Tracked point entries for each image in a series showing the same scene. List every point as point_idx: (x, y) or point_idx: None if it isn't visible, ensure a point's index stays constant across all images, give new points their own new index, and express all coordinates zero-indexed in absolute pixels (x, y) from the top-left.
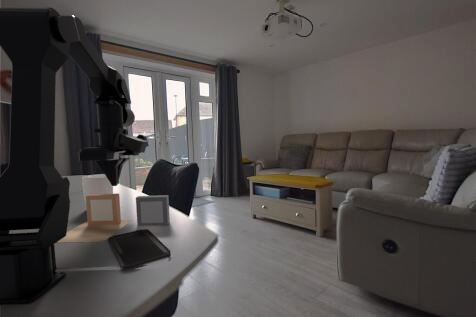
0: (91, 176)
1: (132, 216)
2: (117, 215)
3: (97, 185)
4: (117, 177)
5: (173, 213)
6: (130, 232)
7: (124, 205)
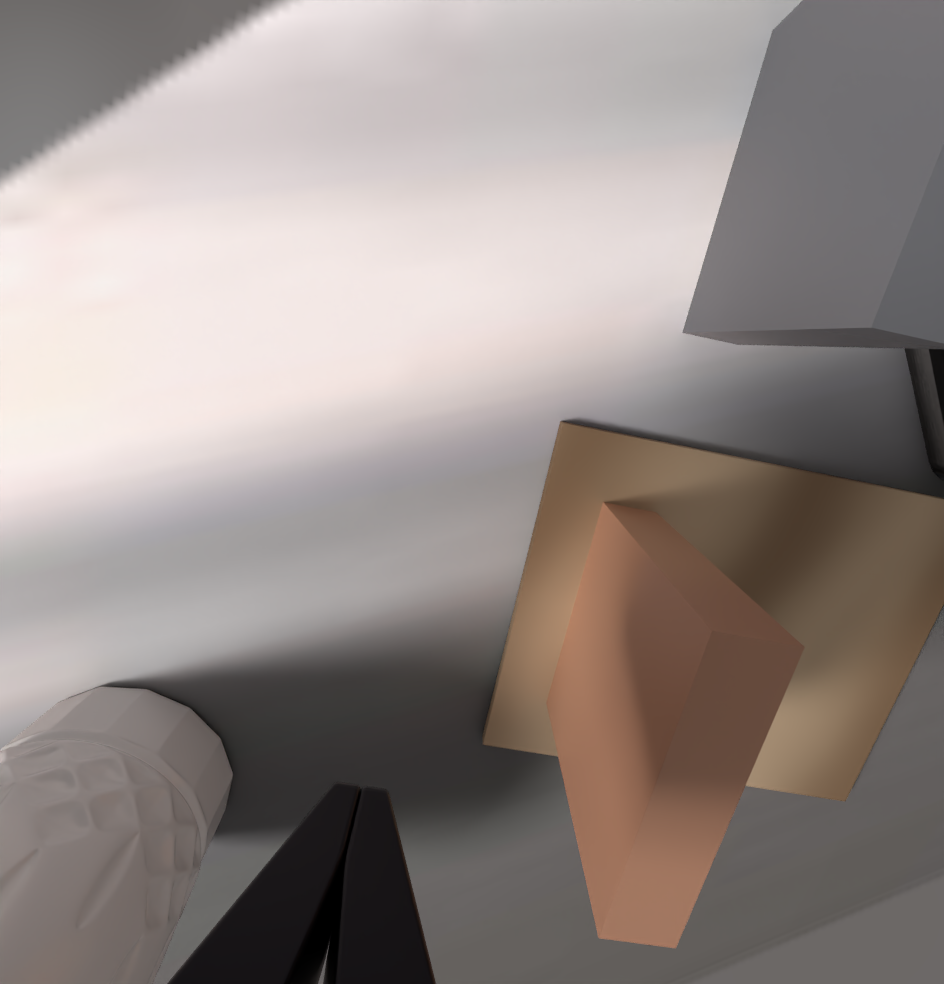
0: None
1: (405, 452)
2: (678, 537)
3: None
4: (357, 911)
5: (399, 11)
6: (941, 358)
7: (3, 610)
